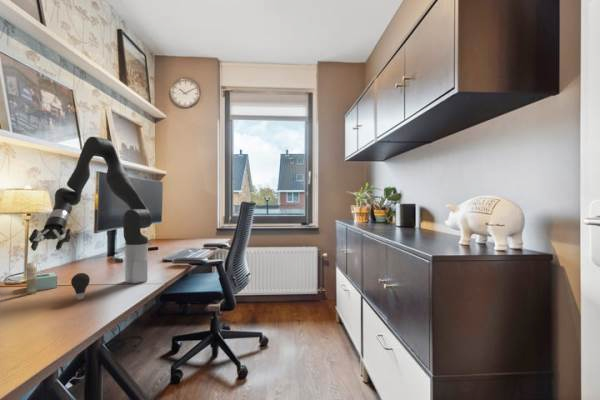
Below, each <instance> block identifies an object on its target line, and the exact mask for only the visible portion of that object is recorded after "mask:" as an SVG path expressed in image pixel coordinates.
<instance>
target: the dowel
mask: <svg viewBox="0 0 600 400" xmlns="http://www.w3.org/2000/svg"><path fill="white" fill-rule="evenodd" d="M37 265H38V264H37V262H27V263H26V275H25V276H26V282H25V286H26V289H25V291H26V293H25V295H27V296H30V295H35V294H37V291H36V281H37V274H38V273H37V267H38V266H37Z"/></svg>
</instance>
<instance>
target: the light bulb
mask: <svg viewBox="0 0 600 400" xmlns="http://www.w3.org/2000/svg"><path fill="white" fill-rule="evenodd" d="M70 284H71V286H72V288H73V289H74V292H75V294H76V295H75V297H76V300H78V301H82V300H83V299H84V298H85V295H86V294H85V293H86V290H87V287H88V285H90V276H89V275H88V274H87V273H85V272H84V273H83V272H79V273H76V274H75V275H74V276H73V277H72V278H71V281H70Z"/></svg>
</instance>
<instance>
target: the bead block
mask: <svg viewBox="0 0 600 400" xmlns="http://www.w3.org/2000/svg"><path fill="white" fill-rule="evenodd" d="M57 288H58V275H57V274H56V272H47V273H46V272H45V273H39V274H38V273H37V281H36V292H37V291H45V290H49V289H50V290H51V289H57Z"/></svg>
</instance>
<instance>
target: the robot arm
mask: <svg viewBox="0 0 600 400" xmlns="http://www.w3.org/2000/svg"><path fill="white" fill-rule="evenodd" d="M78 157H79V158H78V161H77V163H76V166H75V168H74V170H73V172H72V173H71V175H70V177H69V178H68V181H67V182H66V185H67V187H68V188H69V189H68V188H65V187H60V188H58V189H57V190H56V191H55V193H54V207H53V209H52V210H53V211H51V213H50V214H49V215H48V217H47V220H46V222H45V224H44V226H43V229H42V230H38V229H36V228H35V229H33V231H32V232H31V234H30V236H29V237H28V241H29V243H30V244H31V245H30V248H31V250H32V251H36V250H37V248H38V246H39V244H40V243H42V242H44V241H46V240H48V241H49V240H56V239H57V240H58V241H57V243H56V245H55V250H57V251H59V250H60V249H62V247H63V244H65V243H69V242H70V240H71V238H72V237H71V236H72V231H71V229H70V228H68V229H67V228H66V227H67V224H68V223H69V220H70V216H71V213H72V211H73V206H77V205H79V204H80V202H81V199H82V193H83V190H84V187H85V186H86V184H87V182H88V181H89V179H90V176H91V170H90V162H91V161H92V160H93V158H94V157H99V158H102V159H103V160H104V162H105V163H106V166H107V171H106V175H105V180H106V182H107V184H108V186H109V188H110V190H111V192H112V193H113V194H114V195H115V196H116V197H117V198H118V199H120V200H121V201H122V202H124V203H125V204H126V205H127V206H128V207H129V209H128V210H126V211H125V212H124V215H123V218H122V226H123V227H122V229H123V238H124V241H125V251H124V253H125V254H124V255H125V258H124V259H125V260H124V282H125V283H127V284H137V283H143V282H145V283H146V282H147V281H148V277H149V276H148V273H149V271H148V270H149V269H148V268H149V265H148V261H149V259H148V258H149V256H148V255H149V238H148V236H145V235H143V234H142V233H141V231H142V230H141V229H147V228H149V227H151V226H152V223H153V215H152V214H151V211H150V210H149V208H148V207H147V206H146V204H145V203H144V201H143V200H142V198H141V197H140V195H139V193H138V192H137V190H136V189H135V186H134V184H133V183H132V180H131V179H130V176H129V175H128V173H127V172H126V170H125V167H124V166H123V165H122V162H121V159H120V158H119V156H118V153H117V150H116V147H115V145H114V143H113V142H112V141H110V139H106V138H102V137H98V136H90V137H88V138H87V139H85V141H84V143H83V147H82V148H81V151H80V154H79V156H78ZM63 235H64V237H62V236H63Z"/></svg>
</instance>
